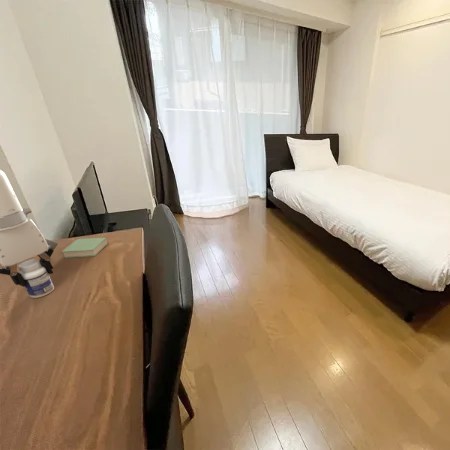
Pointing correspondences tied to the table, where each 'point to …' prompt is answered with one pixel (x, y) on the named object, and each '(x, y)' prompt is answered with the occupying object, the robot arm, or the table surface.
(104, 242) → the book
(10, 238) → the robot arm
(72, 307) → the table surface
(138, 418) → the table surface
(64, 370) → the table surface
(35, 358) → the table surface
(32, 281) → the pill bottle
